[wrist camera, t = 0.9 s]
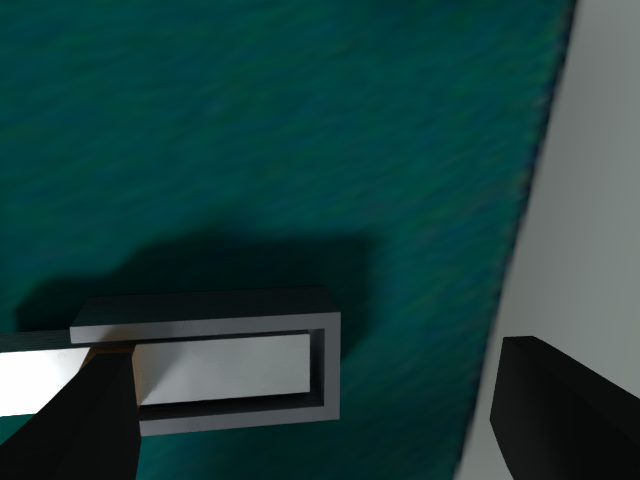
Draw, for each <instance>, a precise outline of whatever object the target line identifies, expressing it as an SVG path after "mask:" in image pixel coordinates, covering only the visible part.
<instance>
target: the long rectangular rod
mask: <svg viewBox="0 0 640 480" xmlns="http://www.w3.org/2000/svg"><path fill="white" fill-rule="evenodd" d="M122 352H131V356H132V365H133V373H134V381H135V390H136V398H137V407H138V413H139V408H140V405H146V404H159V403H172V402H184V401H197V400H210V399H223V398H236V397H249V396H261V395H274V394H287V393H300V392H310V334H309V332H308V329H304V330H287V331H270V332H254V333H237V334H220V335H204V336H187V337H170V338H154V339H137V340H121V341H104V342H87V343H71V334H70V329H68V330H50V331H32V332H15V333H0V416H5V415H18V414H31V413H37V412H38V411H39V410H40V409H41V408H42V407H43V406H44V405H45V404H46V403H48V402H49V401H50V400H51V399H52V398H53V397H54V396H55V395H56V394H57V393H58V392H59V391H60V390H61V389H62V388H63V387H64V386H65V385H66V384H67V383H68V382H69V381H70V380H71V379H72V378H73V377H74V376H75V375H76V374H77V373H78V372H79V371H80V370H81V369H82V368H83V367H84V366H85V365H86V364H87V363H88V362H89V361H90V360H91V359H92V358H93V357H94V356H95V355H96V354H97V353H122Z"/></svg>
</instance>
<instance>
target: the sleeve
mask: <svg viewBox="0 0 640 480" xmlns="http://www.w3.org/2000/svg"><path fill="white" fill-rule="evenodd" d="M340 328H341V312H340V310H339V309H338V307H337V305H336V304H335V302H334V300H333V299H332V297H331V295H330V294H329V292H328V291H327V289H326V287H325V286H306V287H285V288H265V289H244V290H223V291H202V292H181V293H160V294H139V295H118V296H98V297H89V298H88V300H87V301H86V303H85V305H84V306H83V308H82V309H81V311H80V312H79V314H78V315H77V317H76V318H75V320H74V322H73V323H72V325H71V326H70V334H71V343H87V342H104V341H121V340H137V339H154V338H170V337H187V336H204V335H220V334H237V333H254V332H270V331H287V330H304V329H308V332H309V334H310V392H300V393H287V394H274V395H261V396H249V397H236V398H223V399H210V400H197V401H184V402H172V403H159V404H146V405H140V408H139V413H138V415H139V423H140V432H141V436H149V435H161V434H172V433H184V432H195V431H207V430H218V429H230V428H242V427H253V426H265V425H276V424H288V423H299V422H311V421H323V420H334V419H339V411H340Z"/></svg>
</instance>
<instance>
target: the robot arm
mask: <svg viewBox="0 0 640 480" xmlns="http://www.w3.org/2000/svg"><path fill="white" fill-rule="evenodd" d="M490 422H491V425H492V428H493V431H494V434H495V437H496V439H497V442H498V445H499V448H500V450H501V453H502V455H503V458H504V460H505V463H506V465H507V467H508V469H509V471H510V473H511V475H512V477H513V479H514V480H640V399H639V398H637V397H636V396H634V395H632V394H631V393H629V392H627V391H626V390H624V389H622V388H620V387H619V386H617V385H615V384H614V383H612V382H610V381H609V380H607V379H606V378H604V377H602V376H601V375H599V374H597V373H596V372H594V371H592V370H591V369H589V368H588V367H586V366H584V365H583V364H581V363H579V362H578V361H576V360H574V359H573V358H571V357H570V356H568V355H566V354H565V353H563V352H561V351H560V350H558V349H556V348H554V347H553V346H551V345H549V344H547V343H546V342H544V341H542V340H540V339H538V338H536V337H534V336H517V337H504V338H503V343H502V349H501V355H500V361H499V367H498V373H497V379H496V384H495V391H494V396H493V402H492V408H491V414H490ZM140 446H141V432H140V423H139V415H138V407H137V398H136V390H135V381H134V373H133V365H132V356H131V352H122V353H97V354H96V355H95V356H94V357H93V358H92V359H91V360H90V361H89V362H88V363H87V364H86V365H85V366H84V367H83V368H82V369H81V370H80V371H79V372H78V373H77V374H76V375H75V376H74V377H73V378H72V379H71V380H70V381H69V382H68V383H67V384H66V385H65V386H64V387H63V388H62V389H61V390H60V391H59V392H58V393H57V394H56V395H55V396H54V397H53V398H52V399H51V400H50V401H49V402H48V403H46V404H45V405H44V406H43V407H42V408H41V409H40V410H39V411H38V412H37V413H36V414H35V415H34V416H33V417H32V418H31V419H30V420H29V421H28V422H27V423H26V424H24V425H23V426H22V427H21V428H20V429H19V430H18V431H17V432H15V433H14V434H13V435H12V436H11V437H10V438H8V439H7V440H6V441H5V442H4V443H3V444H2V445H0V480H135V479H136V473H137V467H138V460H139V453H140Z"/></svg>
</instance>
